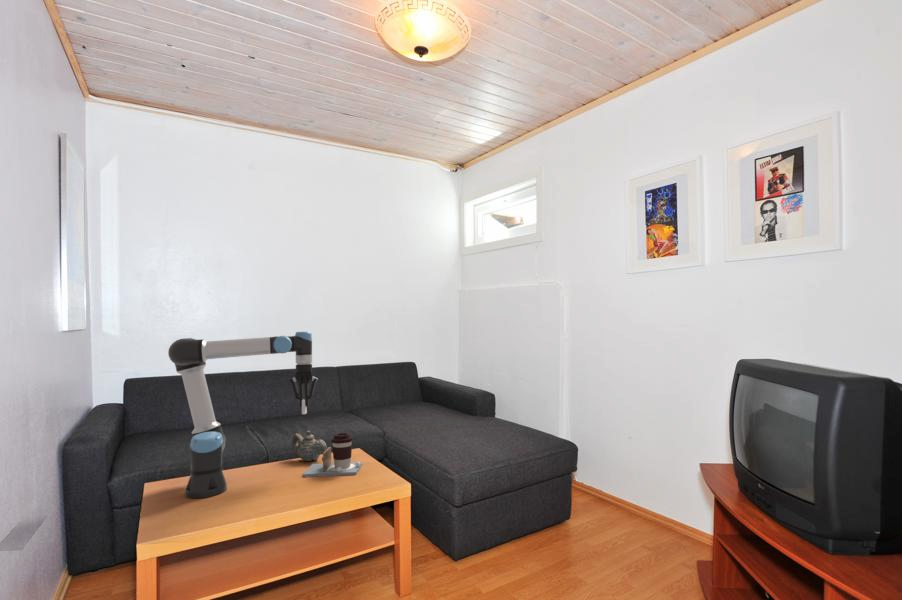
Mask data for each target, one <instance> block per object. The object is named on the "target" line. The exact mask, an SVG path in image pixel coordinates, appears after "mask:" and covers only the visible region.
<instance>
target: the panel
mask: <svg viewBox="0 0 902 600" xmlns="http://www.w3.org/2000/svg"><path fill="white" fill-rule="evenodd" d="M321 461H322V463H323V471H326V470H327V469H328V468H329V466H330V465H331V463H332V446H328V447H327V448H326V450H325V451H323V452H322V457H321Z"/></svg>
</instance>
